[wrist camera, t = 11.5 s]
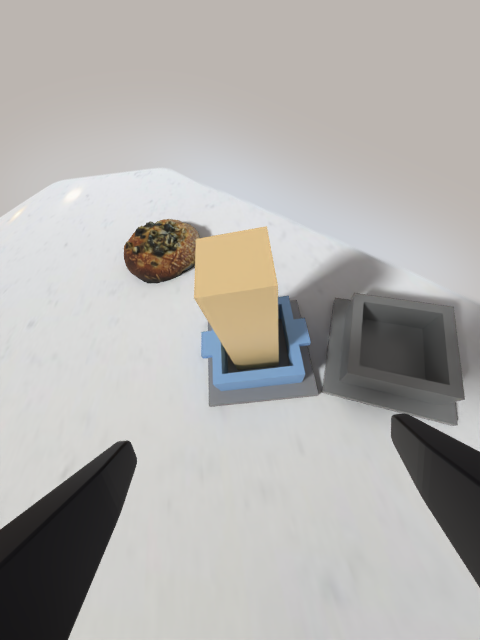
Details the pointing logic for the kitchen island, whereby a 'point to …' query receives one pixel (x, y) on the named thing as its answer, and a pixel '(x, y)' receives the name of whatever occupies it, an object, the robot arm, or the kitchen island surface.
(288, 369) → the blue bezel socket
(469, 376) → the kitchen island surface
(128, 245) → the bread roll
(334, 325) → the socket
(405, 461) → the robot arm
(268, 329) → the tall tan pillar
